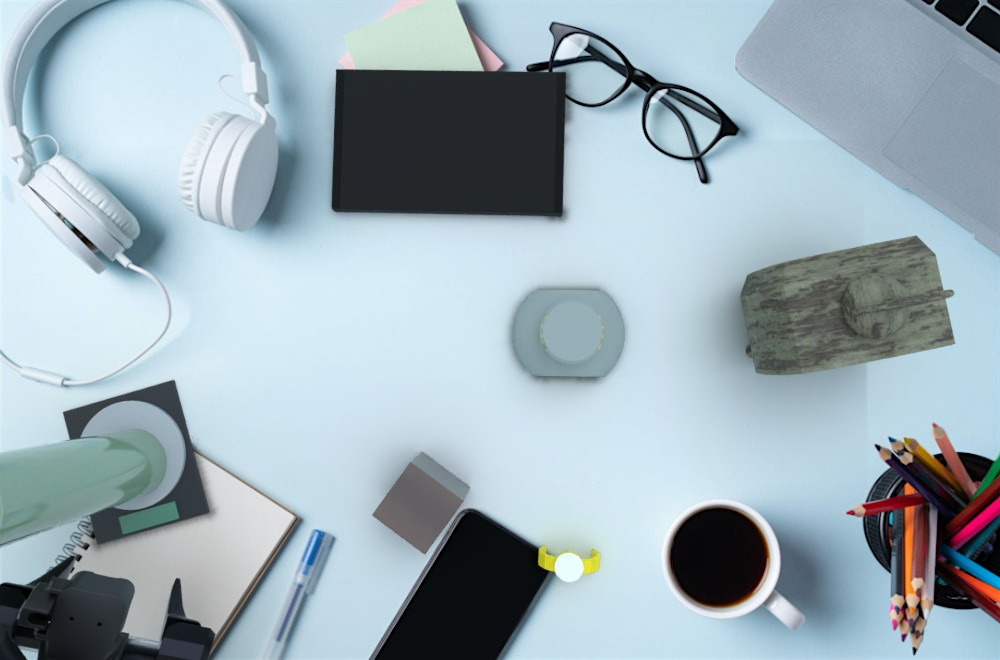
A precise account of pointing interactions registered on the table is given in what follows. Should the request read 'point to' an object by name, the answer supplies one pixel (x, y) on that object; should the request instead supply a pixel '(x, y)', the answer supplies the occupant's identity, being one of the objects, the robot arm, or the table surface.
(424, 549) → the block
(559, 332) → the air freshener
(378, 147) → the external hard drive
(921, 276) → the toy tank
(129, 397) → the scale
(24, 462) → the canister
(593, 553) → the watch
